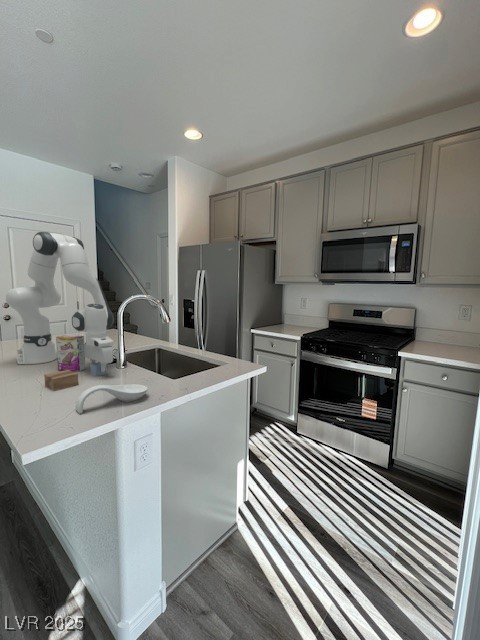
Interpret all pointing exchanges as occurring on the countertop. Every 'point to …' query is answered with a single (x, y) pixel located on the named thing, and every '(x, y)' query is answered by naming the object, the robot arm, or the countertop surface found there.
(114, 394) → the spoon rest
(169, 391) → the countertop surface
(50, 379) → the walnut block
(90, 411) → the countertop surface
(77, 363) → the candy bar box
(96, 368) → the slate blue cube
